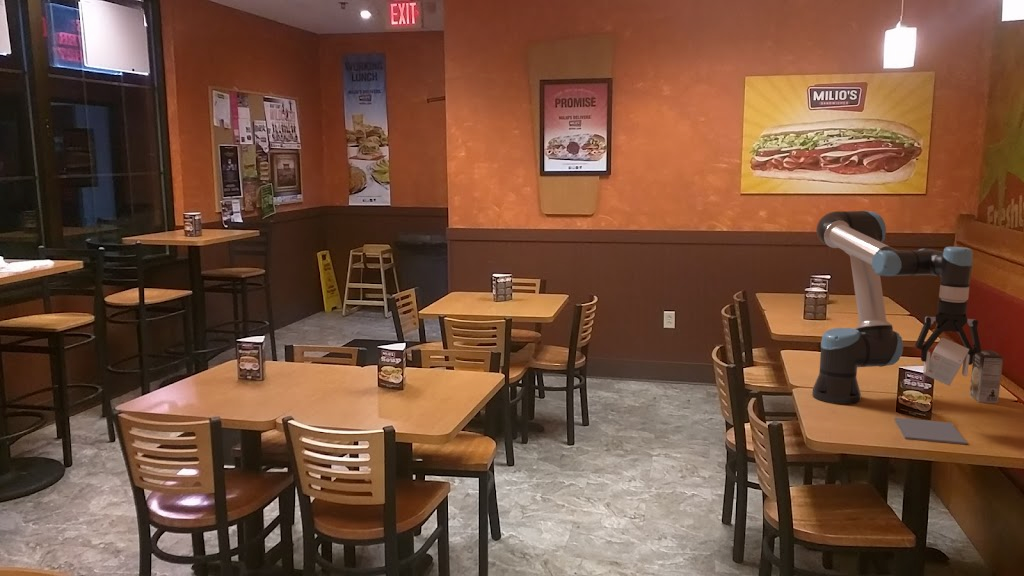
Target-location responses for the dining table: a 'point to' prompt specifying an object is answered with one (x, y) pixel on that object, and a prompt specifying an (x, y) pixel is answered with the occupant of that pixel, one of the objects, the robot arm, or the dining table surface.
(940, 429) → the slate mat
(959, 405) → the dining table surface
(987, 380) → the coffee box
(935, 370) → the small box
